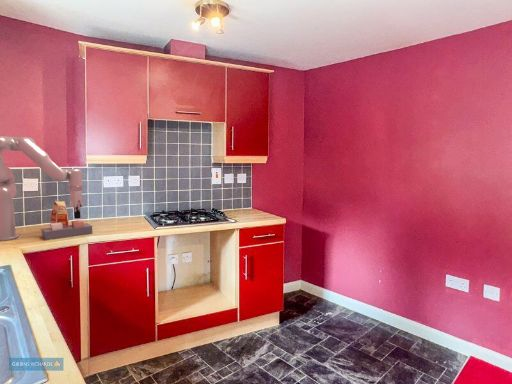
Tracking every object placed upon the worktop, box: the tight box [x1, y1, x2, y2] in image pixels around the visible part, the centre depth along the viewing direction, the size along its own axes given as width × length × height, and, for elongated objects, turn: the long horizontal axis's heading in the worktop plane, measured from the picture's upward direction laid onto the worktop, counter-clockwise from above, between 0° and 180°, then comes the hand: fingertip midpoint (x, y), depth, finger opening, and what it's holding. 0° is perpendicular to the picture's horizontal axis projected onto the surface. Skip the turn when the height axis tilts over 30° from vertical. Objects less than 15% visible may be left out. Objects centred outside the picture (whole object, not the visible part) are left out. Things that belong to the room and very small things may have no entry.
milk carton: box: [49, 199, 70, 226], centre depth 242 cm, size 9×9×20 cm
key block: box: [41, 222, 93, 241], centre depth 229 cm, size 11×26×5 cm, turn 130°
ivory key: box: [49, 222, 63, 230], centre depth 225 cm, size 6×6×5 cm
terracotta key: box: [71, 219, 85, 227], centre depth 232 cm, size 6×6×5 cm
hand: (77, 218), depth 232 cm, fingers closed
